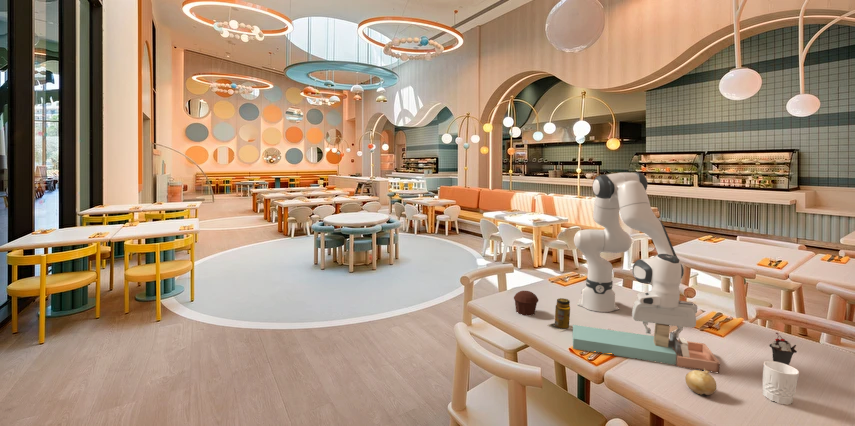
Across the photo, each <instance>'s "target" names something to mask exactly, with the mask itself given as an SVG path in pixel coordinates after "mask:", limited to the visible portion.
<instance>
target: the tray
mask: <svg viewBox="0 0 855 426" xmlns="http://www.w3.org/2000/svg"><path fill="white" fill-rule="evenodd" d="M669 340H670V338H669ZM677 340H678V342H679V339H677ZM686 341H687V343H688V351H689V355H690V358H689V357H682V356H680V354H678V353H676V351H675V349H674V347H673V349H674V351H675V353H676V365H675V366H676V367H677V366H679V367H678V368H683V367H685V368H684V369H689V368H691V369H690V370H696V369H700V370H699V371H702V370H704V368H705V370H706V371H712V372H711V373H714V372H718V373H717V374H720V371H721V363H720V360H719V359H718V358H717V357H716V356H715V354H714V353H713V352H712V351H711V349H710V348H709V347H708V345H707V344H706V343H705V342H703V343H702V342H695V341H690V340H686Z"/></svg>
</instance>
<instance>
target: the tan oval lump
mask: <svg viewBox="0 0 855 426" xmlns="http://www.w3.org/2000/svg"><path fill="white" fill-rule="evenodd" d="M704 370H705V368H704ZM685 384H686V385H687V388H688V389H689V390H690V391H692V392H694V393H695V394H697V395H699V394H700V396H703V395H706V396H711V395H712V394H714V393H715V392H716V390H717V382H716V380H715V378H714V377H713V375H711V372H709V371H706V370H705V371H702V370H696V369H692V370H691V371H689V372H687V374H686V375H685Z"/></svg>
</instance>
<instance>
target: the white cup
mask: <svg viewBox="0 0 855 426" xmlns="http://www.w3.org/2000/svg"><path fill="white" fill-rule="evenodd" d="M799 376H800V371H799V369H797V368H795V367H794V366H791V365H790V364H789V365H787V364H784V363H780V362H775V361H773V360H767V361H766V360H765V361H763V365H762V392H761V393H762V396H763V395H764V396H766V397H767V398H769V399H770V400H772V401H775V402H777V403H776V404H778V403H781V404H780V405H783V404H790V405H792V404H793V403H794V402H793V401H794V395H795V394H796V389H797V385H798V379H799ZM764 396H763V397H764ZM767 398H766V399H767ZM770 400H769V401H770ZM772 401H771V402H772ZM775 402H774V403H775ZM791 403H792V404H791Z"/></svg>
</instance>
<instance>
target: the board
mask: <svg viewBox="0 0 855 426" xmlns="http://www.w3.org/2000/svg"><path fill="white" fill-rule="evenodd" d="M572 327H573V328H572V349H573V350H580V351H584V352H585V351H586V352H591V353H592V352H593V353H597V352H602V353H601V354H604V353H612V354H614V355H613V356H616V357H624V358H630V359H635V358H637V359H636V360H641V359H642V360H643V361H647V360H649V361H648V362H654V361H656V362H655V363H660V362H662V363H661V364H666V363H668V364H667V365H672V364H674V365H675V366H677V365H676V353H675V351H674V349H673V347H662V346H655V343H654V335H650V334H641V333H634V332H628V331H620V330H613V329H606V328H600V327H599V328H598V327H591V326H586V325H585V326H584V325H578V324H572ZM594 351H596V352H594Z"/></svg>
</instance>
